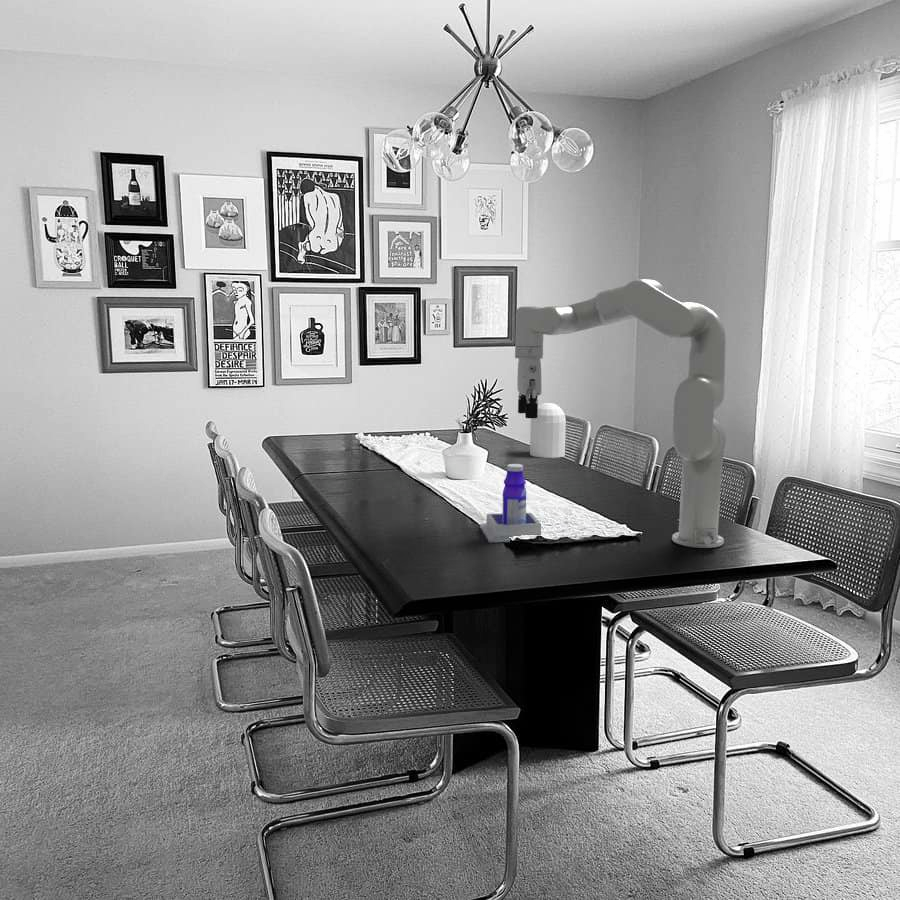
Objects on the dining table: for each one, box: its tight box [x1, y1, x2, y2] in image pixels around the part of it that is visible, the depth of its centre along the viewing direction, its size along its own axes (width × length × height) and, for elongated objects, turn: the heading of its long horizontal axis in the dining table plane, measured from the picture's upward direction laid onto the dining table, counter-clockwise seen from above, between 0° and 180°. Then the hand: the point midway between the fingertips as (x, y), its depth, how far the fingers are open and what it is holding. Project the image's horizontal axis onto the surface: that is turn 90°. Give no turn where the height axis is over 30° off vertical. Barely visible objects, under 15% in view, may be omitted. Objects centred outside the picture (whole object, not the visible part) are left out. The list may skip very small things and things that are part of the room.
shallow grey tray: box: [479, 512, 542, 543], centre depth 239 cm, size 15×15×4 cm
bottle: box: [502, 463, 527, 524], centre depth 237 cm, size 7×6×17 cm
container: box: [529, 402, 567, 459], centre depth 352 cm, size 14×13×20 cm
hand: (527, 415), depth 252 cm, fingers open, 9 cm apart
